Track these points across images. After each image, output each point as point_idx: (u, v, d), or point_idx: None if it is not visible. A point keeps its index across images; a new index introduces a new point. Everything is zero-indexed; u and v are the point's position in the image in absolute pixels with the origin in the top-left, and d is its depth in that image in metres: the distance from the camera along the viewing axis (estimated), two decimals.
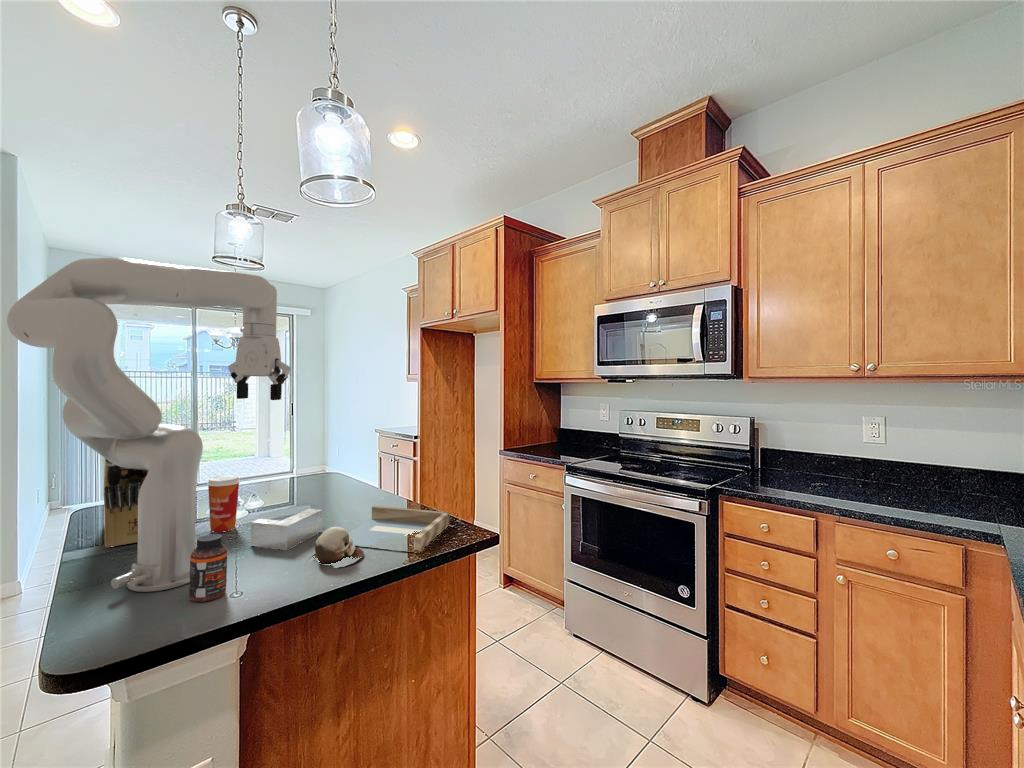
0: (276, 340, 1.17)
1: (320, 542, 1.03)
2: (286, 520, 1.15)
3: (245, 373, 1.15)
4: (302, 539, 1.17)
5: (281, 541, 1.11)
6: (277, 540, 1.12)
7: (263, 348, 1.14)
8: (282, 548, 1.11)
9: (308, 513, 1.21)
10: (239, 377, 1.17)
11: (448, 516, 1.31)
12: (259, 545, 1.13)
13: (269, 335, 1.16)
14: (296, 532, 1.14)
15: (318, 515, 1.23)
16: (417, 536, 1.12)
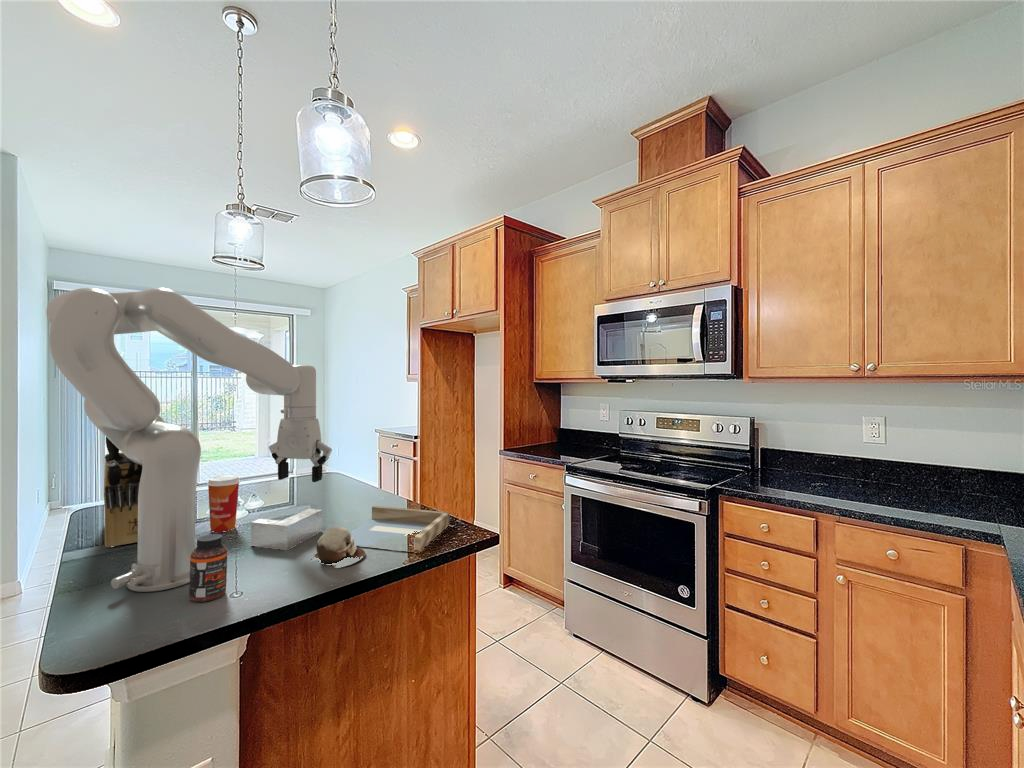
0: (316, 421, 1.17)
1: (321, 542, 1.03)
2: (286, 520, 1.15)
3: (287, 456, 1.15)
4: (302, 539, 1.17)
5: (281, 541, 1.11)
6: (277, 540, 1.12)
7: (304, 431, 1.14)
8: (282, 548, 1.11)
9: (308, 513, 1.21)
10: (280, 458, 1.17)
11: (448, 516, 1.31)
12: (259, 545, 1.13)
13: (310, 417, 1.16)
14: (296, 532, 1.14)
15: (318, 515, 1.23)
16: (417, 536, 1.12)
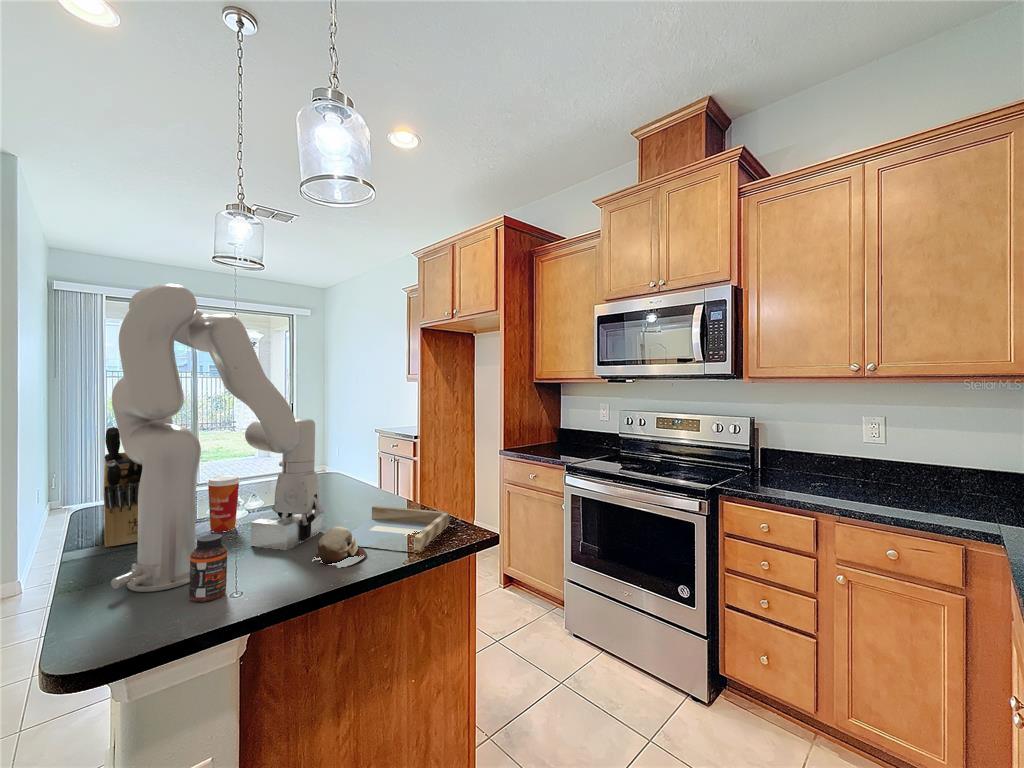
0: (315, 475, 1.17)
1: (323, 542, 1.03)
2: (286, 520, 1.15)
3: (284, 510, 1.15)
4: None
5: (281, 541, 1.11)
6: (277, 540, 1.12)
7: (302, 486, 1.14)
8: (282, 548, 1.11)
9: None
10: (284, 516, 1.17)
11: (448, 516, 1.31)
12: (259, 545, 1.13)
13: (308, 472, 1.16)
14: (296, 532, 1.14)
15: None
16: (417, 536, 1.12)
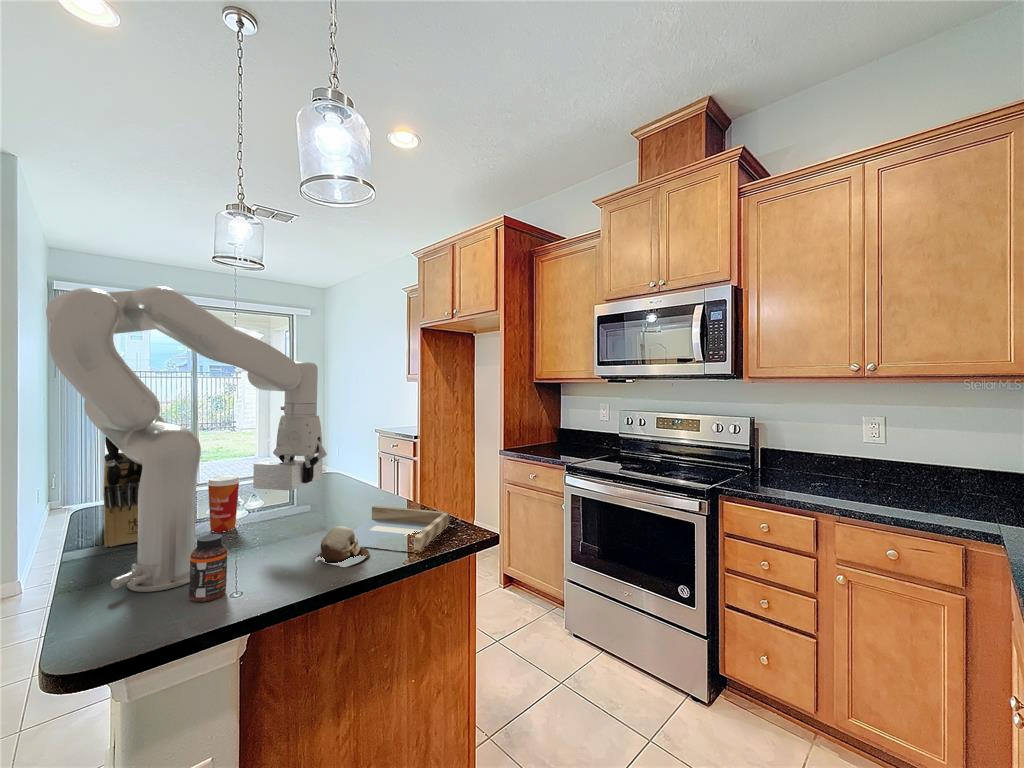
0: (318, 418, 1.17)
1: (326, 542, 1.03)
2: (289, 462, 1.15)
3: (287, 452, 1.15)
4: None
5: (286, 481, 1.11)
6: (281, 480, 1.11)
7: (306, 428, 1.15)
8: (287, 488, 1.11)
9: None
10: (287, 459, 1.17)
11: (448, 516, 1.31)
12: (262, 486, 1.12)
13: (312, 414, 1.16)
14: (300, 474, 1.14)
15: (319, 461, 1.23)
16: (417, 536, 1.12)
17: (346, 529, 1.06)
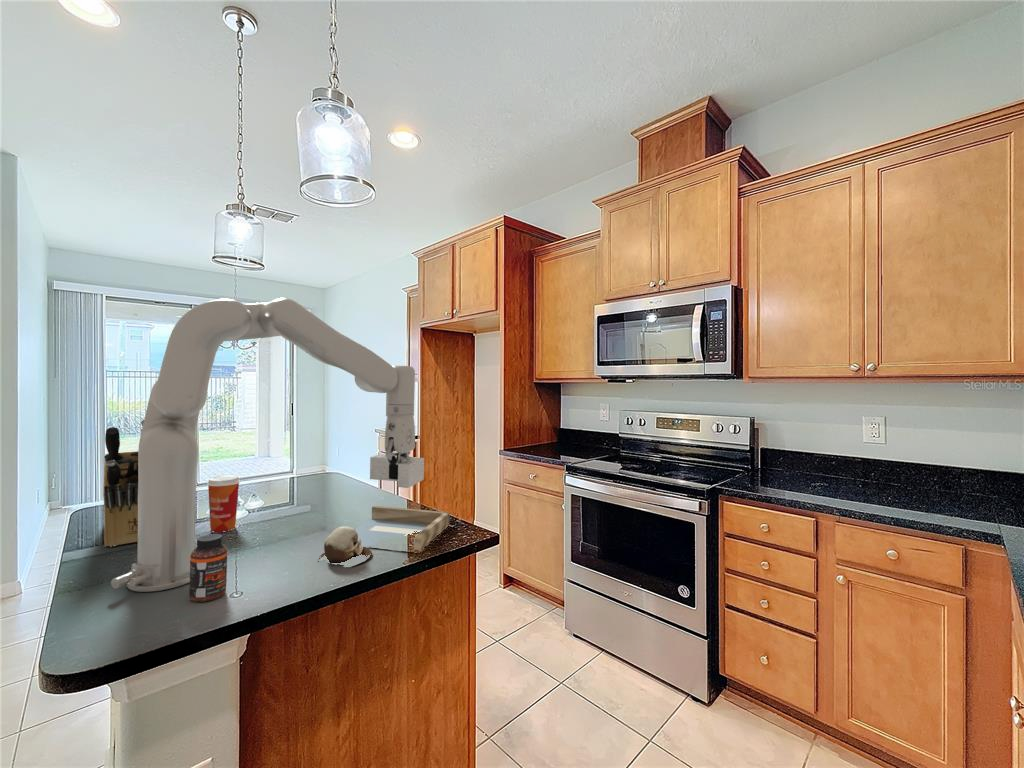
0: None
1: (329, 542, 1.03)
2: (407, 458, 1.25)
3: (406, 450, 1.24)
4: None
5: (421, 473, 1.25)
6: (420, 473, 1.24)
7: (413, 425, 1.29)
8: (422, 479, 1.26)
9: None
10: (399, 458, 1.23)
11: (448, 516, 1.31)
12: (412, 483, 1.19)
13: None
14: None
15: None
16: (417, 536, 1.12)
17: (349, 529, 1.07)
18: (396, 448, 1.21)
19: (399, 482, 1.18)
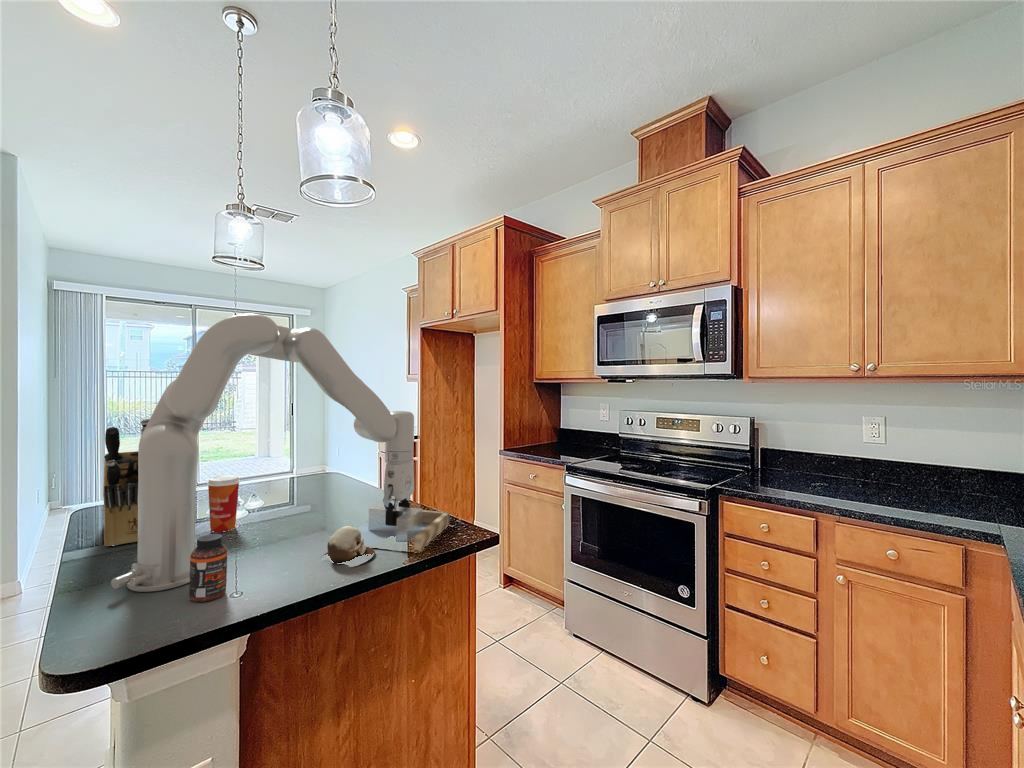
0: None
1: (333, 542, 1.03)
2: (406, 510, 1.25)
3: (405, 497, 1.24)
4: None
5: (420, 524, 1.25)
6: (418, 525, 1.24)
7: (412, 469, 1.29)
8: (420, 530, 1.26)
9: None
10: (396, 504, 1.22)
11: (448, 516, 1.31)
12: (411, 537, 1.19)
13: None
14: None
15: None
16: (417, 536, 1.12)
17: (352, 529, 1.07)
18: (395, 496, 1.21)
19: (397, 537, 1.18)
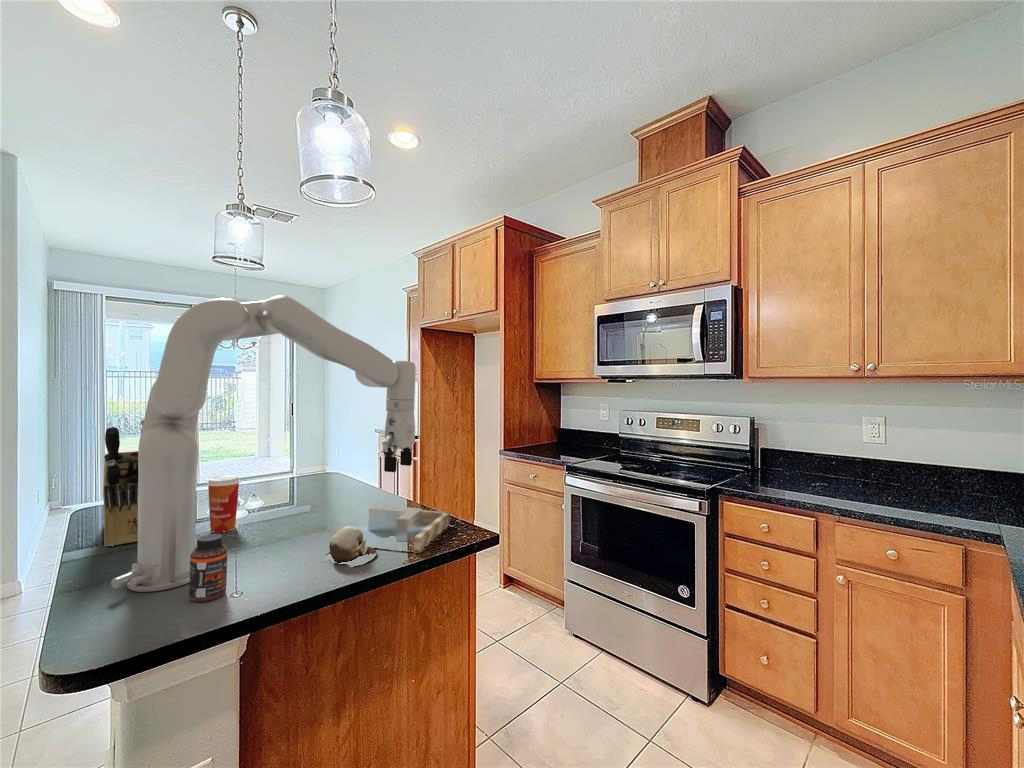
0: None
1: (335, 542, 1.04)
2: (406, 510, 1.25)
3: (406, 446, 1.24)
4: None
5: (420, 524, 1.25)
6: (418, 525, 1.24)
7: (413, 420, 1.29)
8: (420, 530, 1.26)
9: (386, 506, 1.28)
10: (396, 451, 1.21)
11: (448, 516, 1.31)
12: (411, 537, 1.19)
13: None
14: None
15: None
16: (417, 536, 1.12)
17: (354, 529, 1.07)
18: (396, 443, 1.21)
19: (397, 537, 1.18)
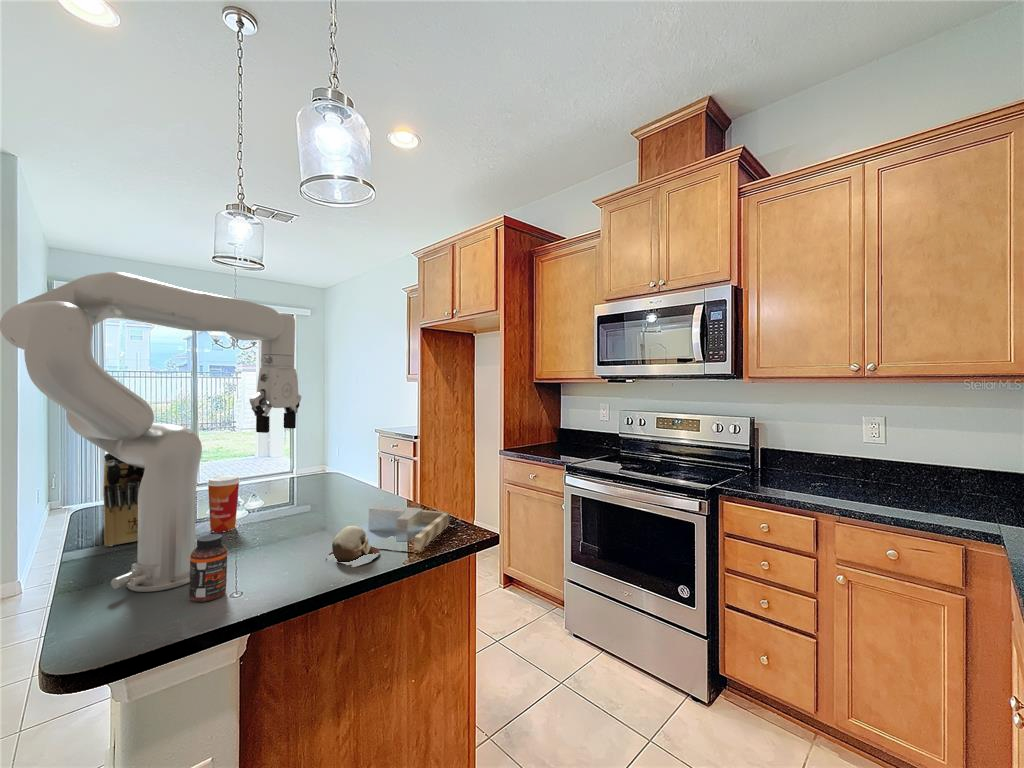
0: None
1: (338, 541, 1.04)
2: (406, 510, 1.25)
3: (282, 405, 1.14)
4: None
5: (420, 524, 1.25)
6: (418, 525, 1.24)
7: (295, 379, 1.19)
8: (420, 530, 1.26)
9: (386, 506, 1.28)
10: (268, 410, 1.12)
11: (448, 516, 1.31)
12: (411, 537, 1.19)
13: None
14: None
15: None
16: (417, 536, 1.12)
17: (357, 528, 1.07)
18: (268, 401, 1.11)
19: (397, 537, 1.18)
